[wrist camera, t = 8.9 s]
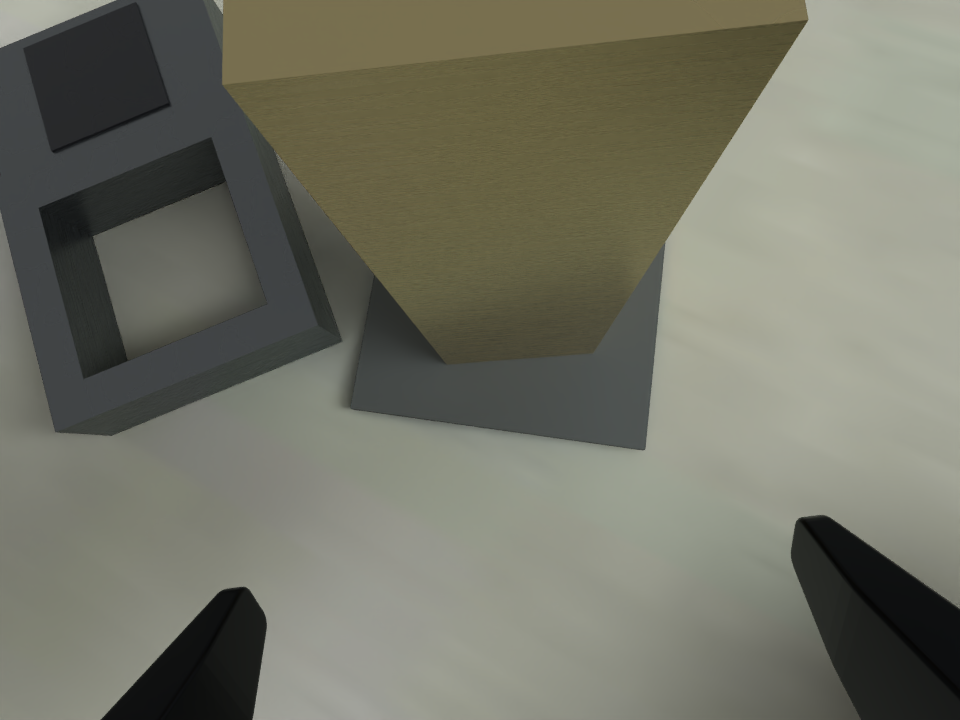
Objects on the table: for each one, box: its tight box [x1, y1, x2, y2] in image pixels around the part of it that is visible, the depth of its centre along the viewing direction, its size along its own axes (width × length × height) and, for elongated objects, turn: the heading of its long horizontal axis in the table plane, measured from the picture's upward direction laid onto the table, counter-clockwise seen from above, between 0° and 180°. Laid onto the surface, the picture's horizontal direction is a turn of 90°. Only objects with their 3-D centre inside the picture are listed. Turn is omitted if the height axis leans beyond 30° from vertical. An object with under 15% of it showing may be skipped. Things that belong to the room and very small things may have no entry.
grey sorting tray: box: [0, 0, 342, 436], centre depth 21 cm, size 14×9×3 cm, turn 22°
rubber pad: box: [351, 243, 665, 450], centre depth 20 cm, size 10×10×1 cm
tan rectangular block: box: [222, 0, 808, 365], centre depth 13 cm, size 5×5×15 cm
